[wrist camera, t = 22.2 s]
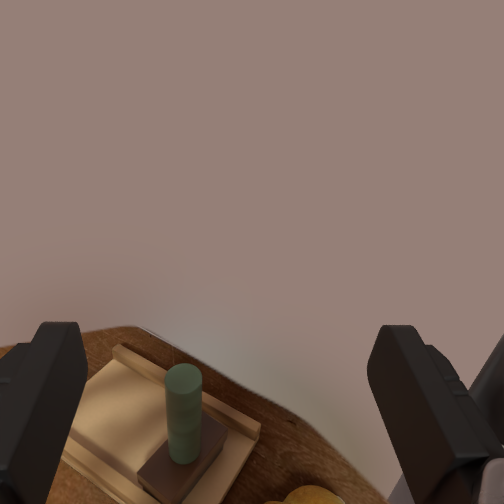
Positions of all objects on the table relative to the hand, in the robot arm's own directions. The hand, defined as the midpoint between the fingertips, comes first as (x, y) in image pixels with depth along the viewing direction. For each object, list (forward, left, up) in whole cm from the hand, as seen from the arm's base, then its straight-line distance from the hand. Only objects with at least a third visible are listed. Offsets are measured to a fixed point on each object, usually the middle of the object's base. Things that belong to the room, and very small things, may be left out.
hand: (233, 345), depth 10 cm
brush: (+3, -10, -27) cm, 29 cm away
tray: (+7, -14, -28) cm, 31 cm away
